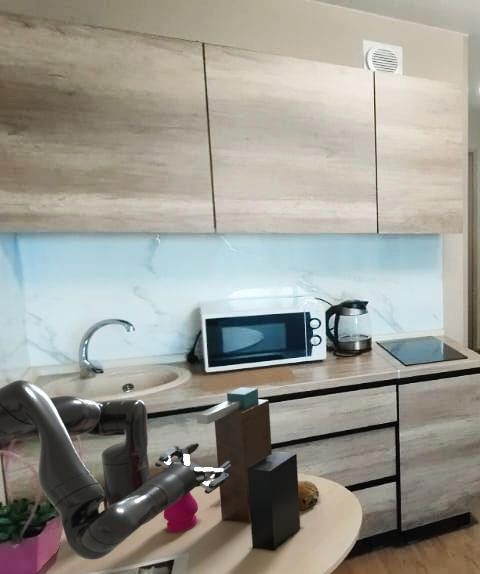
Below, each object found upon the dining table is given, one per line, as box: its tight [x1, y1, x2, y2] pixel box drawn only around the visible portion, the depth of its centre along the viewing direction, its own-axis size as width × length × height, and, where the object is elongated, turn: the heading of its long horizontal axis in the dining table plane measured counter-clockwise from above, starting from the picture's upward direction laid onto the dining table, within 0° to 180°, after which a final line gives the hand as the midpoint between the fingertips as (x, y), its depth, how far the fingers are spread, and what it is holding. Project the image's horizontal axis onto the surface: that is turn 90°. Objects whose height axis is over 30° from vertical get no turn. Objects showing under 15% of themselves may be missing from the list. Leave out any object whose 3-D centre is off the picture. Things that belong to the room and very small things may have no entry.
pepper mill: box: [163, 456, 199, 533], centre depth 153 cm, size 7×7×20 cm
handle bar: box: [196, 386, 259, 425], centre depth 152 cm, size 5×16×4 cm, turn 175°
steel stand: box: [247, 451, 301, 551], centre depth 150 cm, size 6×10×22 cm, turn 175°
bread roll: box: [298, 480, 320, 511], centre depth 169 cm, size 10×10×8 cm
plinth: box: [214, 398, 273, 524], centre depth 160 cm, size 8×10×32 cm
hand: (212, 455), depth 146 cm, fingers open, 8 cm apart
